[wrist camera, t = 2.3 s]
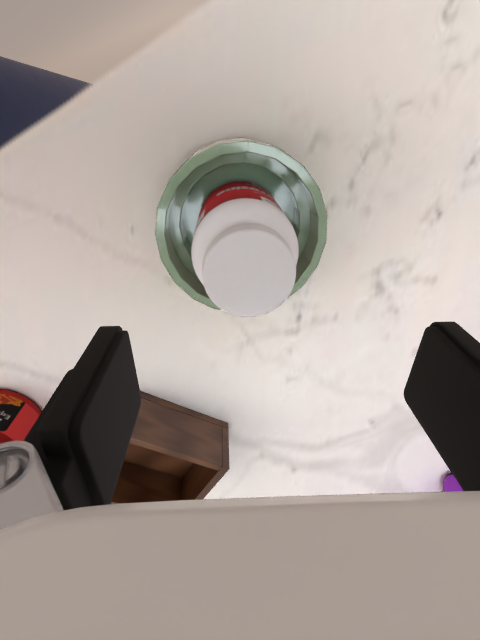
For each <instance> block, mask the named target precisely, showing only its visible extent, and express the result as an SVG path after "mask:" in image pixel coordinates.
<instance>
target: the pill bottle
mask: <svg viewBox="0 0 480 640" xmlns="http://www.w3.org/2000/svg"><path fill="white" fill-rule="evenodd" d="M298 254H299V248H298V240H297V236H296V233H295V231H294V228H293V226H292V224H291V223H290V221H289V219H288V218H287V216H286V215H285V214H284V212H283V210H282V209H281V207H280V206H279V205H278V203H277V202H276V200H275V199H274V197H273V196H272V195H271V194H270V193H269V192H268V191H267V190H266V189H265V188H264V187H263V186H261V185H259V184H257V183H255V182H252V181H248V180H241V179H238V180H231V181H227V182H224V183H222V184H220V185H219V186H217V187H216V188H215V189H213V190H212V191H211V192H210V193H209V195H208V196H207V197H206V199H205V201H204V203H203V205H202V207H201V210H200V213H199V217H198V221H197V225H196V229H195V232H194V236H193V241H192V249H191V256H192V263H193V267H194V270H195V272H196V275H197V277H198V278H199V280H200V281H201V283H202V284H203V285H204V288H205V291H206V293H207V295H208V296H209V298H210V299H211V300H212V302H213V303H214V304H215V305H216V306H217V307H219V308H220V309H222V310H223V311H225V312H227V313H229V314H232V315H235V316H240V317H255V316H260V315H263V314H266V313H269V312H271V311H273V310H274V309H276V308H277V307H279V306H280V305H281V304H282V303H283V302H284V301H285V300H286V299H287V298H288V296H289V295H290V293H291V291H292V289H293V287H294V283H295V279H296V265H297V261H298Z"/></svg>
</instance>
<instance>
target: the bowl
mask: <svg viewBox="0 0 480 640" xmlns="http://www.w3.org/2000/svg"><path fill="white" fill-rule="evenodd" d="M238 179H241V180H248V181H252V182H255V183H257V184H259V185H261V186H263V187H264V188H265V189H266V190H267V191H268V192H269V193H270V194H271V195H272V196H273V197H274V199H275V200H276V202H277V203H278V205H279V206H280V207H281V209H282V210H283V212H284V214H285V215H286V216H287V218H288V219H289V221H290V223H291V224H292V226H293V228H294V231H295V233H296V236H297V240H298V248H299V254H298V261H297V265H296V279H295V283H294V287H293V289H292V291H291V293H290V295H289V296H291V295H292V294H293V293H294V292H296V291H297V290H298V289H300V288H301V287H302V286H303V285H304V284H305V282H306V281H307V280H308V278H309V277H310V276H311V274H312V273H313V271H314V270H315V269H316V267H317V265H318V263H319V260H320V257H321V255H322V252H323V249H324V246H325V243H326V233H327V212H326V209H325V205H324V202H323V199H322V195H321V192H320V189H319V187H318V185H317V184H316V182H315V181H314V180H313V178H312V177H311V176H310V174H309V173H308V171H307V170H306V169H305V167H304V166H303V165H302V164H301V163H300V162H298V161H297V160H295V159H294V158H292V157H291V156H289V155H288V154H286V153H285V152H284V151H282V150H281V149H279V148H277V147H275V146H273V145H270V144H268V143H264V142H260V141H256V140H252V139H248V138H234V139H225V140H218V141H216V142H214V143H212V144H210V145H208V146H206V147H204V148H202V149H200V150H198V151H196V152H195V153H194V154H193V155H192V156H191V157H190V158H189V159H188V160H187V161H186V162H185V163H184V164H183V165H182V166H181V167H180V169H179V170H178V171H177V172H176V173H175V174H174V175H173V176H172V177H171V179H170V180H169V182H168V184H167V186H166V188H165V191H164V193H163V195H162V197H161V200H160V202H159V204H158V207H157V218H156V229H155V236H156V241H157V245H158V249H159V253H160V258H161V260H162V262H163V264H164V266H165V267H166V269H167V271H168V272H169V274H170V276H171V277H172V279H173V281H174V282H175V283H176V284H177V285H178V286H179V287H180V288H182V289H183V290H184V291H185V292H186V293H187V294H188V295H189V296H190V297H192V298H193V299H195V300H197V301H199V302H201V303H203V304H205V305H207V306H209V307H211V308H213V309H218V310H222V309H220V308H219V307H217V306H216V305H215V304H214V303H213V302H212V300H211V299H210V298H209V296H208V295H207V293H206V291H205V288H204V285H203V284H202V283H201V281H200V280H199V278H198V277H197V275H196V272H195V270H194V267H193V263H192V256H191V249H192V241H193V236H194V232H195V229H196V225H197V221H198V217H199V213H200V210H201V207H202V205H203V203H204V201H205V199H206V197H207V196H208V195H209V193H210V192H211V191H212V190H213V189H215V188H216V187H217V186H219V185H220V184H222V183H224V182H227V181H231V180H238ZM289 296H288V297H289Z"/></svg>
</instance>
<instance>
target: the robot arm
mask: <svg viewBox="0 0 480 640" xmlns="http://www.w3.org/2000/svg"><path fill="white" fill-rule="evenodd" d="M404 398H405V401H406V403H407V404H408V406H409V407H410V409H411V410H412V412H413V414H414V415H415V417H416V418H417V420H418V421H419V423H420V424H421V426H422V427H423V429H424V431H425V432H426V434H427V435H428V437H429V438H430V440H431V441H432V443H433V444H434V446H435V448H436V449H437V451H438V452H439V454H440V455H441V457H442V458H443V460H444V462H445V463H446V465H447V466H448V468H449V469H450V471H451V472H452V474H453V475H454V477H455V479H456V480H457V482H458V483H459V485H460V486H461V488H462V489H463V491H457V492H418V493H382V494H349V495H317V496H286V497H258V498H231V499H203V500H178V501H159V502H141V503H122V504H111V501H112V498H113V495H114V491H115V488H116V485H117V482H118V478H119V475H120V472H121V468H122V465H123V462H124V459H125V455H126V452H127V449H128V445H129V442H130V439H131V436H132V432H133V429H134V426H135V422H136V419H137V416H138V413H139V409H140V405H141V394H140V389H139V384H138V379H137V374H136V369H135V364H134V359H133V354H132V349H131V344H130V339H129V334H128V332H127V331H122V328H121V327H120V326H102V327H100V328H99V329H98V330H97V332H96V334H95V335H94V337H93V338H92V340H91V342H90V343H89V345H88V346H87V348H86V350H85V351H84V353H83V354H82V356H81V358H80V359H79V361H78V362H77V364H76V366H75V367H74V369H72V370H69V371H68V372H67V374H66V375H65V376H64V378H63V380H62V381H61V383H60V384H59V386H58V387H57V389H56V391H55V392H54V394H53V395H52V397H51V398H50V400H49V401H48V403H47V405H46V406H45V408H44V409H43V411H42V412H41V414H40V415H39V417H38V419H37V420H36V422H35V423H34V425H33V426H32V428H31V430H30V431H29V433H28V434H27V436H26V437H25V439H24V440H23V441H10V442H5V443H2V444H0V640H480V343H479V342H478V341H477V340H475V339H474V338H473V337H472V336H471V335H470V334H469V333H467V332H466V331H465V330H464V329H463V328H462V327H460V326H459V325H458V324H457V323H455V322H434V323H432V324H431V325H430V327H427V328H426V329H425V331H424V334H423V337H422V340H421V343H420V346H419V349H418V352H417V354H416V357H415V360H414V363H413V366H412V369H411V372H410V375H409V378H408V381H407V383H406V386H405V389H404Z"/></svg>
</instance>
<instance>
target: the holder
mask: <svg viewBox="0 0 480 640" xmlns="http://www.w3.org/2000/svg"><path fill="white" fill-rule="evenodd" d="M140 394H141V405H140V409H139V413H138V416H137V419H136V422H135V426H134V429H133V432H132V436H131V439H130V442H129V445H128V449H127V452H126V455H125V459H124V462H123V465H122V468H121V472H120V475H119V478H118V482H117V485H116V488H115V491H114V495H113V498H112V501H111V504H122V503H141V502H159V501H178V500H203V499H204V497H205V496H206V495H207V494H208V493H209V492H210V490H211V489H212V488H213V487H214V486H215V485H216V484H217V482H218V481H219V480H220V479H221V478H222V477H223V476H224V474H225V473H226V472H227V471H228V470H229V438H228V423H225V422H223V421H220V420H217V419H214V418H212V417H209V416H206V415H203V414H201V413H198V412H195V411H193V410H190V409H187V408H184V407H182V406H179V405H176V404H173V403H171V402H168V401H165V400H162V399H160V398H157V397H154V396H151V395H149V394H146V393H143V392H141V391H140Z"/></svg>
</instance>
